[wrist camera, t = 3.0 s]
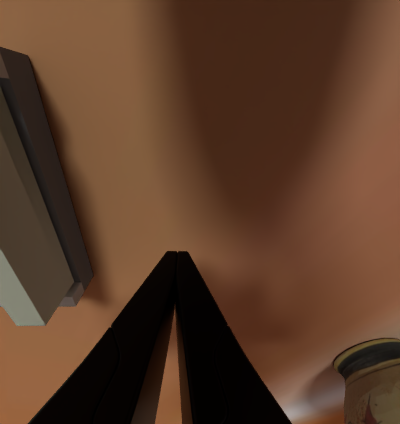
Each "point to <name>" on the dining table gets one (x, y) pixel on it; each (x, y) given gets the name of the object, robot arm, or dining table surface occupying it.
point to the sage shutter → (26, 237)
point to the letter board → (44, 165)
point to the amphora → (371, 382)
